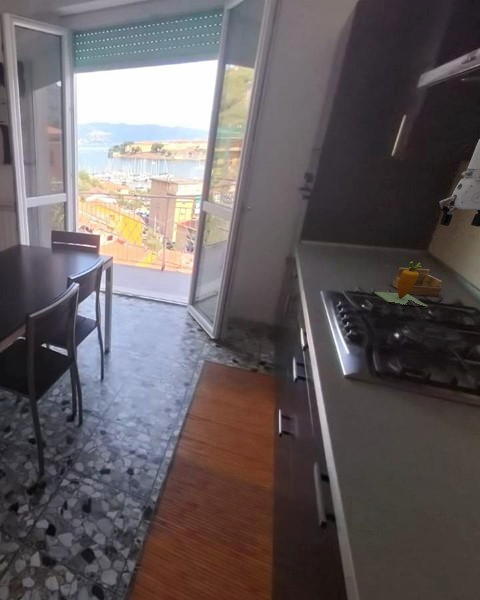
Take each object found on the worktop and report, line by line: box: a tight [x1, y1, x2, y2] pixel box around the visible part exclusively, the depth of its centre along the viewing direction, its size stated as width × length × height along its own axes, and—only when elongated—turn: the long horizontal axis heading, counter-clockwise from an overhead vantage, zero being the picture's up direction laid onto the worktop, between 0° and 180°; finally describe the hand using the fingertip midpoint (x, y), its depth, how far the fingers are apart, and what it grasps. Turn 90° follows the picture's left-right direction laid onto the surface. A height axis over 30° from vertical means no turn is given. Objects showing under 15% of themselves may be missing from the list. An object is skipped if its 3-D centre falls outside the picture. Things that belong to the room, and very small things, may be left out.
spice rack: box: [391, 267, 443, 297], centre depth 145 cm, size 10×11×8 cm
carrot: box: [397, 261, 422, 299], centre depth 135 cm, size 5×5×15 cm
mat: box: [373, 291, 429, 309], centre depth 138 cm, size 12×12×1 cm
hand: (459, 225), depth 127 cm, fingers open, 9 cm apart
